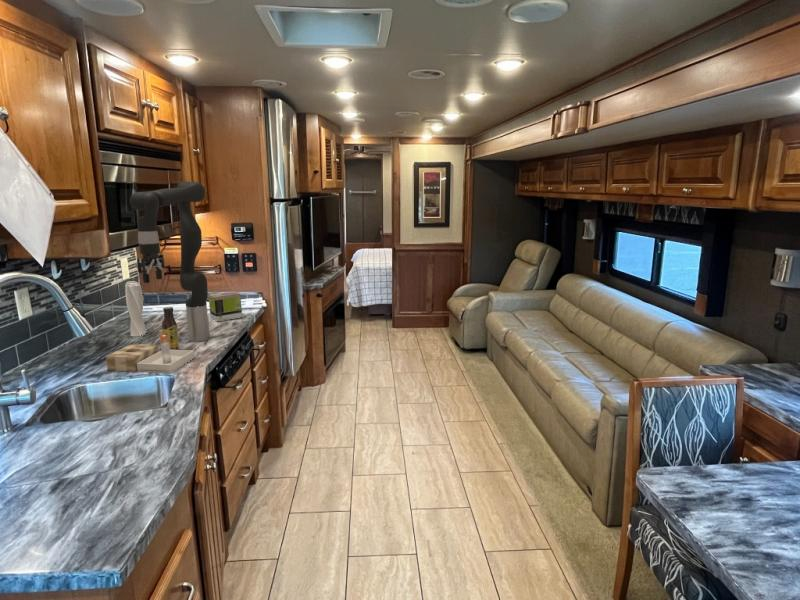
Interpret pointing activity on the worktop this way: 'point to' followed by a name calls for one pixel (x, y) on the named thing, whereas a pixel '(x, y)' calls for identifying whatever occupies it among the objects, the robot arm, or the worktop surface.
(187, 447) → the worktop surface
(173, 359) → the tray
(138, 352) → the block
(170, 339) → the sauce bottle
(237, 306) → the tea box
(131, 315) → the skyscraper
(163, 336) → the copper and grey cylinder
